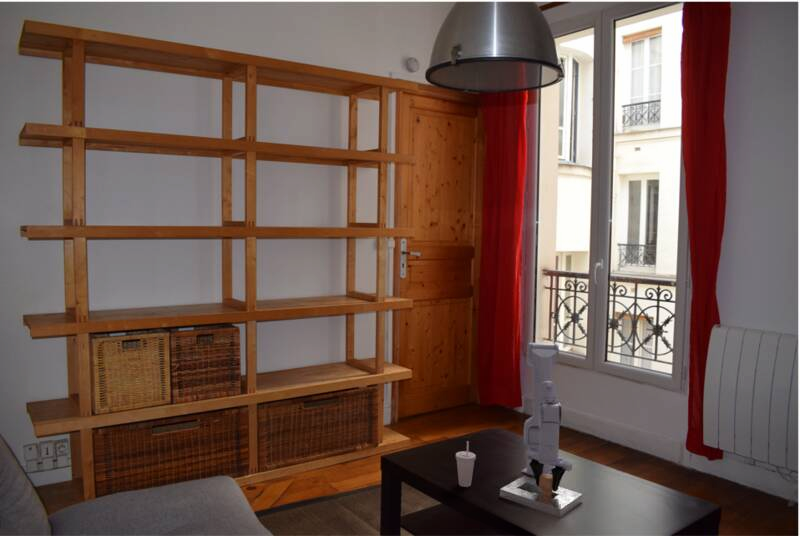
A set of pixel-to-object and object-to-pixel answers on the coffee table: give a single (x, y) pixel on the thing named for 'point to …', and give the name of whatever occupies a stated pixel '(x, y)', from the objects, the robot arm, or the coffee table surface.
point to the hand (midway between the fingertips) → (547, 487)
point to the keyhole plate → (541, 497)
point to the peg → (546, 484)
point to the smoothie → (465, 466)
